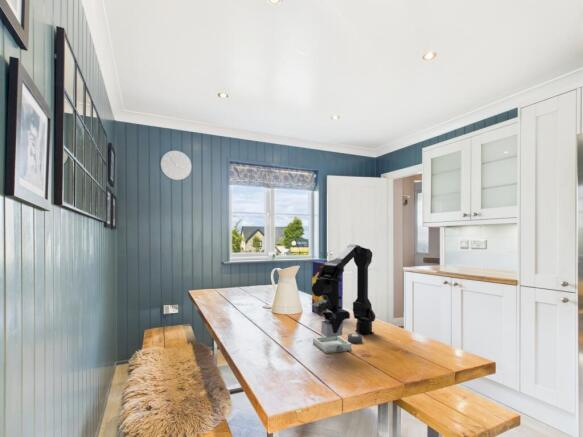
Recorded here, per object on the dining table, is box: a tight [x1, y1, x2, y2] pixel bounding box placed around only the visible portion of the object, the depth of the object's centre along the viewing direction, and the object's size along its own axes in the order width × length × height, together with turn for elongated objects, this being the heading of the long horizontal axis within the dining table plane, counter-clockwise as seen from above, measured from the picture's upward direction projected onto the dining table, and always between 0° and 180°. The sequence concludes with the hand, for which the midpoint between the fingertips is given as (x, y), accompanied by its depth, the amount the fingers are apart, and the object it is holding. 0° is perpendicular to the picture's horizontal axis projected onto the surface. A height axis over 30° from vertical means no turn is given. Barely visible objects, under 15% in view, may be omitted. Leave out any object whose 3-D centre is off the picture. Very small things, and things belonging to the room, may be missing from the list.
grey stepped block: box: [321, 318, 343, 337], centre depth 134 cm, size 7×5×6 cm
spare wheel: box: [347, 333, 363, 345], centre depth 141 cm, size 6×6×3 cm
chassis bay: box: [312, 335, 352, 354], centre depth 133 cm, size 12×15×2 cm
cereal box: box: [311, 260, 344, 318], centre depth 184 cm, size 22×6×30 cm, turn 28°
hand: (331, 331), depth 134 cm, fingers closed on grey stepped block, 5 cm apart
